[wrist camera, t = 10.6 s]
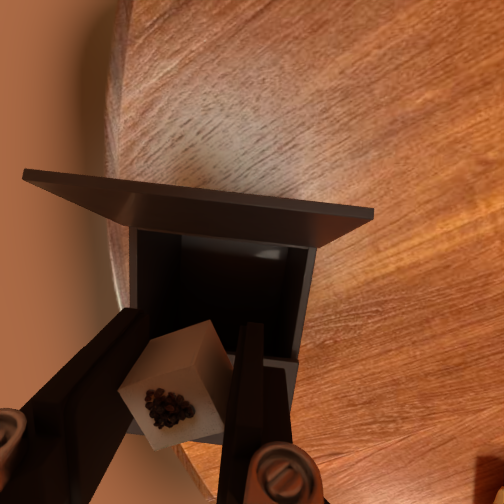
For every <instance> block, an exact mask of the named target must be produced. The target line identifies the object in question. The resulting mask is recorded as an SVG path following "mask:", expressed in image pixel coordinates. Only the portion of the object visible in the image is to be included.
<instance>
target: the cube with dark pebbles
mask: <svg viewBox="0 0 504 504" xmlns="http://www.w3.org/2000/svg"><path fill="white" fill-rule="evenodd" d="M232 374H233V366H232V364H231V362H230V360H229V358H228V356H227V354H226V352H225V350H224V348H223V345H222V343H221V341H220V339H219V337H218V335H217V333H216V331H215V329H214V327H213V325H212V322H211V320H207V321H204V322H201V323H198V324H195V325H192V326H190V327H187V328H184V329H181V330H178V331H175V332H172V333H169V334H166V335H163V336H160V337H157V338H155V339H152V340H150V341H149V343H148V345H147V346H146V348H145V349H144V351H143V352H142V354H141V355H140V357H139V358H138V360H137V361H136V363H135V364H134V366H133V367H132V369H131V370H130V372H129V373H128V375H127V376H126V378H125V380H124V381H123V383H122V384H121V386H120V387H119V389H118V390H117V391H118V392H119V393H120V396H121V397H122V399H123V401H124V402H125V404H126V405H127V407H128V408H129V410H130V412H131V413H132V415H133V416H134V418H135V420H136V422H137V423H138V425H139V426H140V428H141V430H142V431H143V433H144V435H145V436H146V438H147V440H148V442H149V443H150V445H151V446H152V448H153V450H154V451H157V450H160V449H163V448H165V447H169V446H172V445H176V444H180V443H184V442H186V441H191V440H194V439H198V438H202V437H205V436H210V435H213V434H218V433H221V432H224V427H225V419H226V412H227V406H228V399H229V393H230V387H231V380H232Z"/></svg>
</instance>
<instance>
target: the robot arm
mask: <svg viewBox="0 0 504 504" xmlns="http://www.w3.org/2000/svg"><path fill="white" fill-rule="evenodd" d="M149 322H150V319H149V315H147V314H145V313H144V310H143V309H134V308H124V309H122V310H121V311H120V312H119V313H118V314H117V315H116V316H115V317H114V318H113V319H112V320H111V321H110V322H109V323H108V324H107V325H106V326H105V327H104V328H103V329H102V330H101V331H100V332H99V333H98V334H97V335H96V336H95V337H94V338H93V339H92V340H91V341H90V342H89V343H88V344H87V345H86V346H85V347H83V348H82V349H81V350H80V351H79V352H78V353H77V354H76V355H75V356H74V357H73V358H72V359H71V360H70V361H69V362H68V363H67V364H66V365H65V366H63V368H61V369H60V370H59V371H58V372H57V374H55V375H54V376H53V377H52V378H51V379H50V381H48V382H47V383H46V384H45V385H44V386H43V387H42V388H41V389H40V390H39V391H38V392H37V393H36V394H35V395H34V396H33V397H32V398H31V399H30V400H29V401H28V402H27V403H26V404H25V405H24V406H23V407H22V408H21V409H20V410H16V409H10V408H3V409H2V408H1V409H0V504H89V502H90V501H91V498H92V497H93V495H94V493H95V491H96V489H97V487H98V485H99V484H100V482H101V480H102V478H103V476H104V474H105V472H106V470H107V468H108V466H109V464H110V462H111V461H112V459H113V457H114V455H115V453H116V451H117V449H118V447H119V445H120V443H121V442H122V439H123V438H124V436H125V434H126V432H127V430H128V428H129V426H130V424H131V422H132V421H133V419H134V416H133V415H132V413H131V412H130V410H129V408H128V407H127V405H126V404H125V402H124V401H123V399H122V397H121V396H120V393H119V392H118V391H117V390H118V389H119V387H120V386H121V384H122V383H123V381H124V380H125V378H126V376H127V375H128V373H129V372H130V370H131V369H132V367H133V366H134V364H135V363H136V361H137V360H138V358H139V357H140V355H141V354H142V352H143V351H144V349H145V348H146V346H147V345H148V343H149ZM263 353H264V324H262V323H254V322H247V326H241V325H240V329H239V336H238V342H237V349H236V355H235V361H234V368H233V374H232V380H231V387H230V393H229V399H228V406H227V412H226V419H225V427H224V435H223V445H222V455H221V464H220V474H219V484H218V493H217V503H216V504H330V503H329V502H328V501H327V500H326V499H325V498H324V496H323V485H322V479H321V475H320V471H319V469H318V467H317V465H316V464H315V462H314V460H313V459H312V458H311V457H310V456H309V455H308V454H307V453H306V451H304V450H302V449H301V448H299V447H298V446H296V445H294V444H293V441H292V431H291V422H290V412H289V402H288V392H287V382H286V373H285V369H284V368H277V367H269V366H263Z"/></svg>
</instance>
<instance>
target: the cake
mask: <svg viewBox="0 0 504 504" xmlns="http://www.w3.org/2000/svg"><path fill="white" fill-rule="evenodd" d="M493 504H504V486H502V487H501V488H500V489H499V491H498V492H497V495H496V497H495V500H494V502H493Z"/></svg>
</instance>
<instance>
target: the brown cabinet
mask: <svg viewBox="0 0 504 504" xmlns="http://www.w3.org/2000/svg"><path fill="white" fill-rule="evenodd" d="M316 251H317V248H313V247H304V246H296V245H287V244H278V243H270V242H261V241H252V240H244V239H235V238H226V237H218V236H209V235H200V234H192V233H183V232H174V231H166V230H157V229H148V228H140V227H131V226H129V277H130V308H134V309H143V310H144V313H145V314H147V315H149V319H150V322H149V341H150V340H152V339H155V338H157V337H160V336H163V335H166V334H169V333H172V332H175V331H178V330H181V329H184V328H187V327H190V326H192V325H195V324H198V323H201V322H204V321H207V320H211V322H212V325H213V327H214V329H215V331H216V333H217V335H218V337H219V339H220V341H221V343H222V345H223V348H224V350H225V352H226V354H227V356H228V358H229V360H230V362H231V364H232V366H233V368H234V361H235V355H236V349H237V342H238V336H239V329H240V325H241V326H247V322H254V323H262V324H264V353H263V366H269V367H277V368H284V369H285V373H286V382H287V392H288V402H289V412H290V411H291V405H292V400H293V394H294V389H295V383H296V377H297V372H298V366H299V360H298V354H299V348H300V343H301V337H302V331H303V326H304V320H305V314H306V308H307V303H308V297H309V291H310V286H311V280H312V274H313V269H314V263H315V257H316ZM126 433H129V434H136V435H144V433H143V431H142V430H141V428H140V426H139V425H138V423H137V422H136V420H135V418H134V419H133V421H132V422H131V424H130V426H129V428H128V430H127V432H126ZM223 435H224V432H221V433H218V434H213V435H210V436H205V437H202V438H198V439H194V440H191V441H193V442H201V443H209V444H217V445H223Z"/></svg>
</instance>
